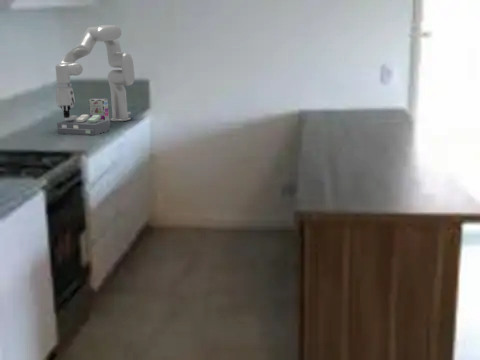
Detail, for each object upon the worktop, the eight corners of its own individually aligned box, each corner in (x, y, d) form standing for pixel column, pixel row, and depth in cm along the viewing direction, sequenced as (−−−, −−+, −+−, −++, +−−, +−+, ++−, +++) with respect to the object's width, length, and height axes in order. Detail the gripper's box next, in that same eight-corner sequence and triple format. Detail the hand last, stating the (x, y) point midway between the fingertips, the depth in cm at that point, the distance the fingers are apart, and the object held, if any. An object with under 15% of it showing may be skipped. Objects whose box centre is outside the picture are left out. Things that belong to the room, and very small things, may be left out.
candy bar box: (110, 125, 425) (108, 98, 421) (105, 127, 421) (103, 100, 417) (95, 124, 430) (93, 98, 426) (90, 126, 426) (88, 99, 422)
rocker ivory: (82, 116, 410) (82, 114, 409) (89, 117, 408) (88, 114, 408) (76, 121, 405) (75, 119, 404) (82, 122, 403) (82, 119, 402)
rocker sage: (94, 117, 407) (93, 114, 406) (100, 117, 405) (100, 114, 405) (88, 122, 402) (87, 119, 401) (94, 122, 400) (93, 120, 399)
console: (72, 128, 419) (71, 117, 418) (109, 130, 410) (108, 119, 408) (57, 133, 407) (56, 121, 405) (95, 135, 397) (94, 123, 395)
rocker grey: (71, 118, 413) (71, 115, 413) (77, 118, 412) (77, 115, 411) (64, 119, 407) (64, 117, 407) (70, 120, 405) (70, 117, 405)
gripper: (78, 85, 401) (81, 116, 406) (57, 84, 407) (60, 115, 412) (70, 86, 395) (73, 119, 399) (49, 86, 400) (52, 118, 405)
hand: (66, 117), depth 406 cm, fingers closed
